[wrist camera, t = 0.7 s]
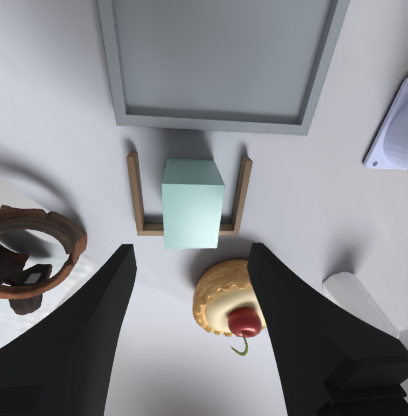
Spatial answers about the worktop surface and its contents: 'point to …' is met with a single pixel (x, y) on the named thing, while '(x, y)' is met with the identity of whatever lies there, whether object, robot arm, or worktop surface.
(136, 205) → the dark bent strip
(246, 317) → the pastry
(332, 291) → the salt shaker
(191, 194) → the teal block
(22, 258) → the brown piece
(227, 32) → the grey tray
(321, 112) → the worktop surface
